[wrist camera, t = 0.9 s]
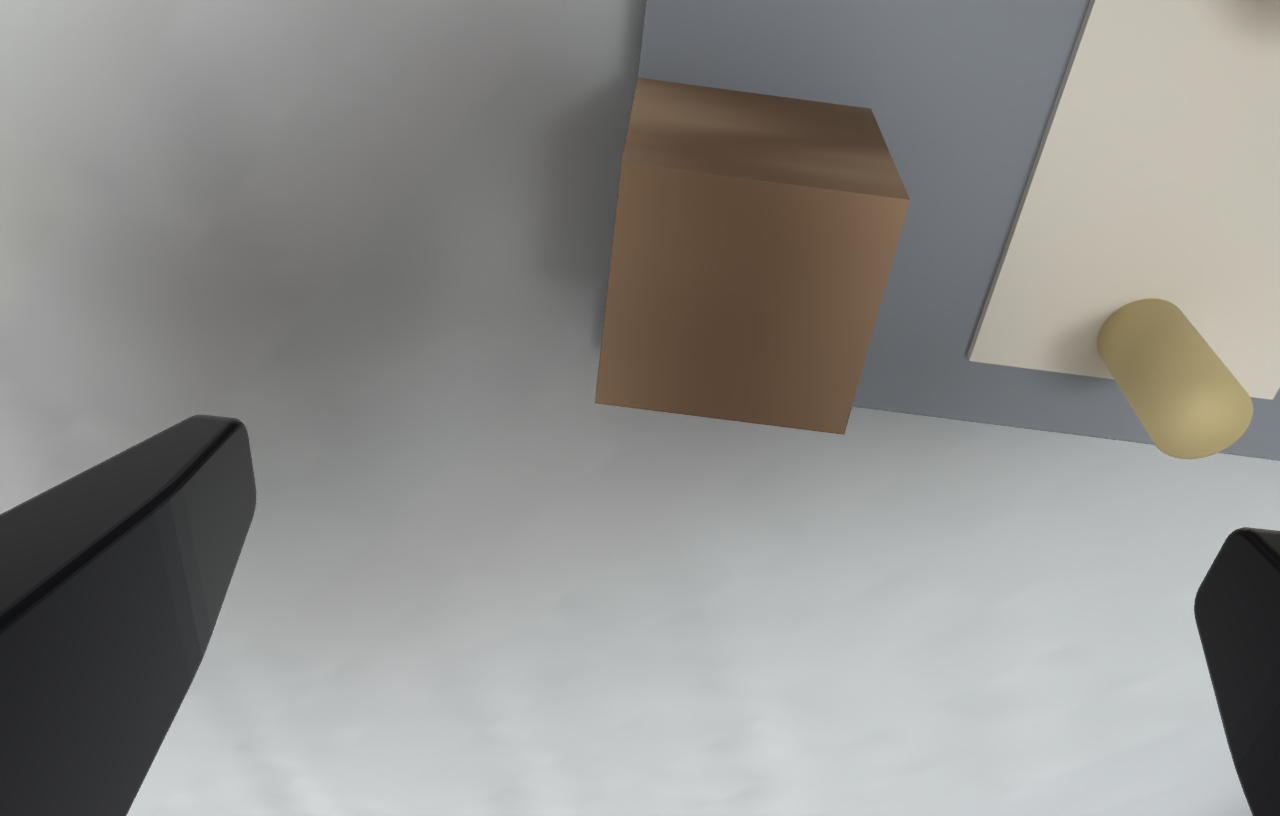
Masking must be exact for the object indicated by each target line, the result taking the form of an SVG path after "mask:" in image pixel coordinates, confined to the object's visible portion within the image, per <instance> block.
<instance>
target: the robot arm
mask: <svg viewBox="0 0 1280 816" xmlns="http://www.w3.org/2000/svg"><path fill="white" fill-rule="evenodd" d="M255 506H256V486H255V479H254V472H253V465H252V458H251V451H250V444H249V437H248V433H247V430H246V427H245V425H244V424H243V423H242V422H241V421H240V420H238V419H236V418H227V417H218V416H209V415H195V416H192V417H190V418H187V419H186V420H184V421H182V422H180V423H178V424H176V425H174V426H172V427H170V428H168V429H166V430H164V431H162V432H160V433H158V434H156V435H154V436H152V437H150V438H149V439H147V440H145V441H143V442H141V443H139V444H137V445H135V446H133V447H131V448H129V449H127V450H125V451H123V452H121V453H119V454H117V455H115V456H113V457H112V458H110V459H108V460H106V461H104V462H102V463H100V464H98V465H96V466H94V467H92V468H90V469H88V470H86V471H84V472H82V473H80V474H78V475H76V476H74V477H73V478H71V479H69V480H67V481H65V482H63V483H61V484H59V485H57V486H55V487H53V488H51V489H49V490H47V491H45V492H43V493H41V494H39V495H37V496H36V497H34V498H32V499H30V500H28V501H26V502H24V503H22V504H20V505H18V506H16V507H14V508H12V509H10V510H8V511H6V512H4V513H2V514H0V816H126V815H127V813H128V811H129V809H130V807H131V805H132V803H133V801H134V799H135V797H136V795H137V793H138V791H139V789H140V787H141V785H142V783H143V781H144V779H145V777H146V775H147V773H148V771H149V769H150V767H151V764H152V762H153V760H154V758H155V756H156V754H157V752H158V750H159V748H160V746H161V744H162V742H163V740H164V738H165V736H166V734H167V732H168V730H169V728H170V726H171V724H172V722H173V720H174V718H175V716H176V714H177V712H178V710H179V708H180V706H181V704H182V702H183V700H184V697H185V695H186V693H187V691H188V689H189V687H190V685H191V683H192V681H193V679H194V677H195V675H196V672H197V670H198V668H199V666H200V664H201V661H202V659H203V657H204V654H205V651H206V649H207V646H208V644H209V641H210V638H211V636H212V633H213V630H214V627H215V624H216V621H217V619H218V616H219V613H220V610H221V607H222V604H223V601H224V599H225V596H226V593H227V590H228V587H229V584H230V581H231V579H232V576H233V573H234V570H235V567H236V564H237V562H238V559H239V556H240V553H241V550H242V547H243V544H244V542H245V539H246V536H247V533H248V530H249V527H250V524H251V522H252V519H253V515H254V511H255ZM1194 612H1195V620H1196V624H1197V628H1198V631H1199V635H1200V639H1201V643H1202V647H1203V650H1204V654H1205V658H1206V662H1207V666H1208V670H1209V673H1210V677H1211V681H1212V685H1213V689H1214V692H1215V696H1216V700H1217V704H1218V708H1219V711H1220V715H1221V719H1222V723H1223V727H1224V730H1225V734H1226V738H1227V742H1228V745H1229V749H1230V752H1231V755H1232V759H1233V762H1234V765H1235V769H1236V771H1237V774H1238V777H1239V780H1240V783H1241V786H1242V788H1243V791H1244V794H1245V797H1246V799H1247V802H1248V805H1249V807H1250V810H1251V812H1252V815H1253V816H1280V531H1275V530H1266V529H1256V528H1247V527H1245V528H1240V529H1237V530H1235V531H1234V532H1232V533H1231V534H1230V535H1229V536H1228V537H1227V539H1226V540H1225V542H1224V544H1223V546H1222V548H1221V549H1220V551H1219V553H1218V555H1217V556H1216V558H1215V560H1214V562H1213V564H1212V565H1211V567H1210V569H1209V571H1208V573H1207V574H1206V576H1205V578H1204V580H1203V582H1202V583H1201V585H1200V587H1199V589H1198V591H1197V594H1196V598H1195V605H1194Z"/></svg>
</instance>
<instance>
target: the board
mask: <svg viewBox="0 0 1280 816" xmlns="http://www.w3.org/2000/svg"><path fill="white" fill-rule="evenodd" d="M638 78H644V79H652V80H659V81H667V82H674V83H682V84H689V85H697V86H705V87H712V88H720V89H727V90H735V91H742V92H750V93H757V94H765V95H772V96H780V97H788V98H795V99H803V100H810V101H818V102H825V103H833V104H840V105H848V106H855V107H863V108H870V109H871V110H872V112H873V114H874V117H875V119H876V121H877V124H878V126H879V128H880V131H881V133H882V135H883V138H884V140H885V142H886V145H887V147H888V150H889V152H890V154H891V157H892V159H893V161H894V164H895V166H896V168H897V171H898V173H899V175H900V178H901V180H902V182H903V185H904V187H905V189H906V192H907V194H908V196H909V199H910V202H909V205H908V209H907V213H906V216H905V220H904V223H903V227H902V230H901V234H900V237H899V241H898V245H897V248H896V252H895V255H894V259H893V262H892V266H891V269H890V273H889V277H888V280H887V284H886V287H885V291H884V294H883V298H882V301H881V305H880V308H879V312H878V316H877V319H876V323H875V326H874V330H873V333H872V337H871V340H870V344H869V348H868V351H867V355H866V358H865V362H864V365H863V369H862V372H861V376H860V380H859V383H858V387H857V390H856V394H855V397H854V401H853V404H852V406H853V407H861V408H869V409H877V410H884V411H892V412H900V413H908V414H916V415H924V416H932V417H940V418H948V419H955V420H963V421H971V422H979V423H987V424H995V425H1003V426H1011V427H1019V428H1027V429H1034V430H1042V431H1050V432H1058V433H1066V434H1074V435H1082V436H1090V437H1098V438H1105V439H1113V440H1121V441H1129V442H1137V443H1145V444H1153V445H1156V446H1157V448H1158V449H1160V450H1161V451H1162V452H1164V453H1165V454H1167V455H1169V456H1172V457H1175V458H1181V459H1197V458H1203V457H1207V456H1210V455H1213V454H1216V453H1224V454H1232V455H1240V456H1247V457H1255V458H1263V459H1271V460H1279V461H1280V0H646V8H645V17H644V26H643V35H642V43H641V52H640V61H639V70H638Z"/></svg>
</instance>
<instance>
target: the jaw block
mask: <svg viewBox="0 0 1280 816" xmlns="http://www.w3.org/2000/svg"><path fill="white" fill-rule="evenodd" d="M909 202H910V199H909V196H908V194H907V192H906V189H905V187H904V185H903V182H902V180H901V178H900V175H899V173H898V171H897V168H896V166H895V164H894V161H893V159H892V157H891V154H890V152H889V150H888V147H887V145H886V142H885V140H884V138H883V135H882V133H881V131H880V128H879V126H878V124H877V121H876V119H875V117H874V114H873V112H872V110H871V109H870V108H863V107H855V106H848V105H840V104H833V103H825V102H818V101H810V100H803V99H795V98H788V97H780V96H772V95H765V94H757V93H750V92H742V91H735V90H727V89H720V88H712V87H705V86H697V85H689V84H682V83H674V82H667V81H659V80H652V79H644V78H637V84H636V89H635V94H634V99H633V104H632V109H631V115H630V120H629V125H628V130H627V135H626V140H625V146H624V151H623V156H622V161H621V169H620V179H619V188H618V197H617V206H616V215H615V224H614V233H613V243H612V252H611V261H610V270H609V279H608V288H607V298H606V307H605V316H604V325H603V334H602V343H601V353H600V362H599V371H598V380H597V389H596V398H595V403H598V404H606V405H614V406H622V407H630V408H638V409H646V410H654V411H661V412H669V413H677V414H685V415H693V416H701V417H709V418H717V419H725V420H733V421H741V422H749V423H757V424H765V425H772V426H780V427H788V428H796V429H804V430H812V431H820V432H828V433H836V434H844V433H845V429H846V426H847V422H848V419H849V415H850V411H851V408H852V404H853V401H854V397H855V394H856V390H857V387H858V383H859V380H860V376H861V372H862V369H863V365H864V362H865V358H866V355H867V351H868V348H869V344H870V340H871V337H872V333H873V330H874V326H875V323H876V319H877V316H878V312H879V308H880V305H881V301H882V298H883V294H884V291H885V287H886V284H887V280H888V277H889V273H890V269H891V266H892V262H893V259H894V255H895V252H896V248H897V245H898V241H899V237H900V234H901V230H902V227H903V223H904V220H905V216H906V213H907V209H908V205H909Z"/></svg>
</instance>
